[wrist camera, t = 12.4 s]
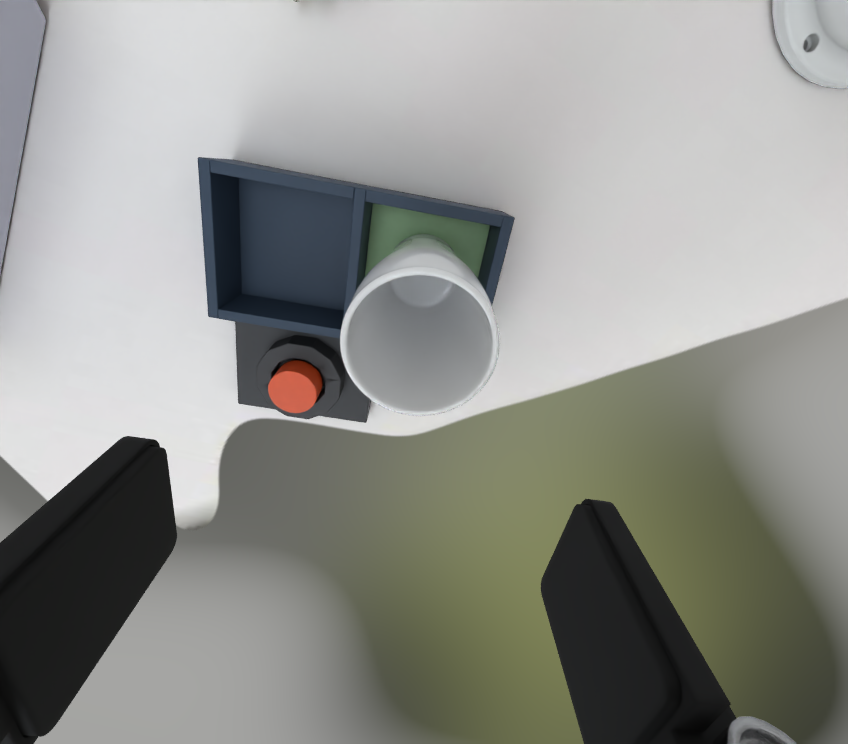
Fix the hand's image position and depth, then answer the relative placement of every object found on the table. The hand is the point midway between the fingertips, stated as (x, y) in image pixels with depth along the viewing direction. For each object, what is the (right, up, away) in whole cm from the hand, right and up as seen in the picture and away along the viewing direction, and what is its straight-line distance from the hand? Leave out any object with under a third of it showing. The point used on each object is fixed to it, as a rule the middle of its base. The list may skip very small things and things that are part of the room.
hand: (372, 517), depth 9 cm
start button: (-9, +3, +22) cm, 24 cm away
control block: (-9, +4, +25) cm, 27 cm away
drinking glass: (+1, +11, +21) cm, 24 cm away
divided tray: (-3, +12, +21) cm, 24 cm away
